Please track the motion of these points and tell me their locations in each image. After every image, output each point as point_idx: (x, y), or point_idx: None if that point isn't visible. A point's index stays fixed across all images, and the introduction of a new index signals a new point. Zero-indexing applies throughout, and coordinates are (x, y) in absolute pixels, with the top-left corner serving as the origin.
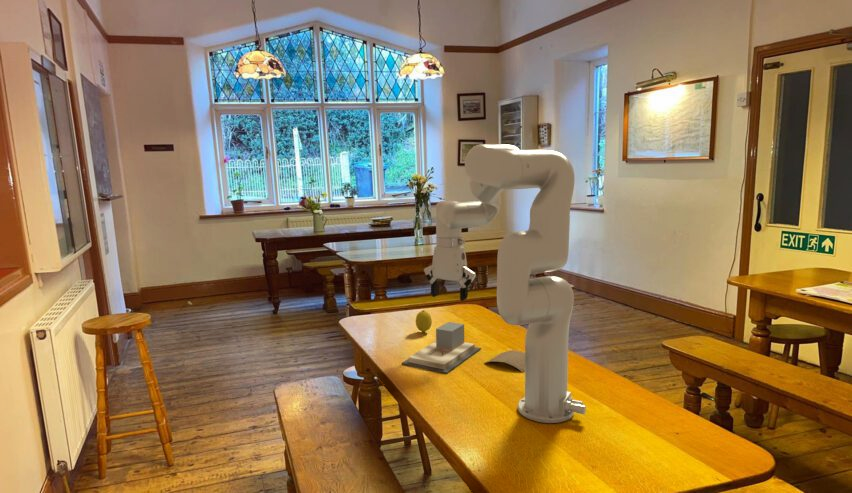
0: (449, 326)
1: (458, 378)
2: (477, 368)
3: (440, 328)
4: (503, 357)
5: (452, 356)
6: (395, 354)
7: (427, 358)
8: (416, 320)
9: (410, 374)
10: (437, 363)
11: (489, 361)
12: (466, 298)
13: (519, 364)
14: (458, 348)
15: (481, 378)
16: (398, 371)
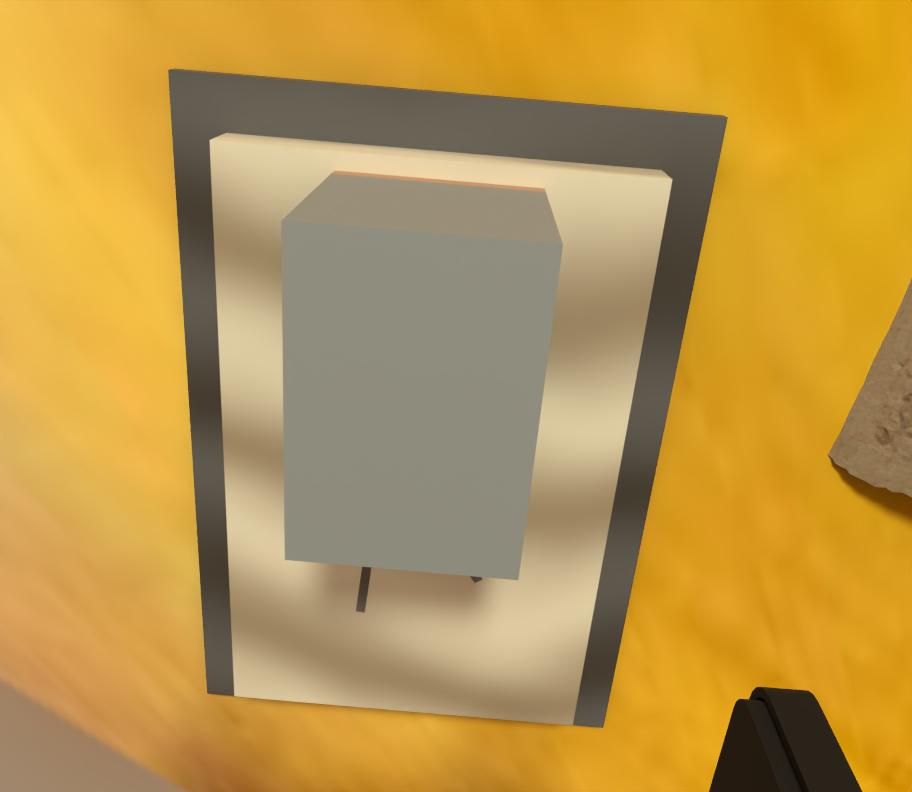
0: (400, 420)
1: (703, 745)
2: (797, 563)
3: (330, 532)
4: None
5: (569, 576)
6: (27, 539)
7: (388, 674)
8: None
9: (368, 787)
10: (506, 715)
11: (903, 492)
12: (802, 702)
13: None
14: (547, 380)
15: (864, 700)
16: (267, 774)
